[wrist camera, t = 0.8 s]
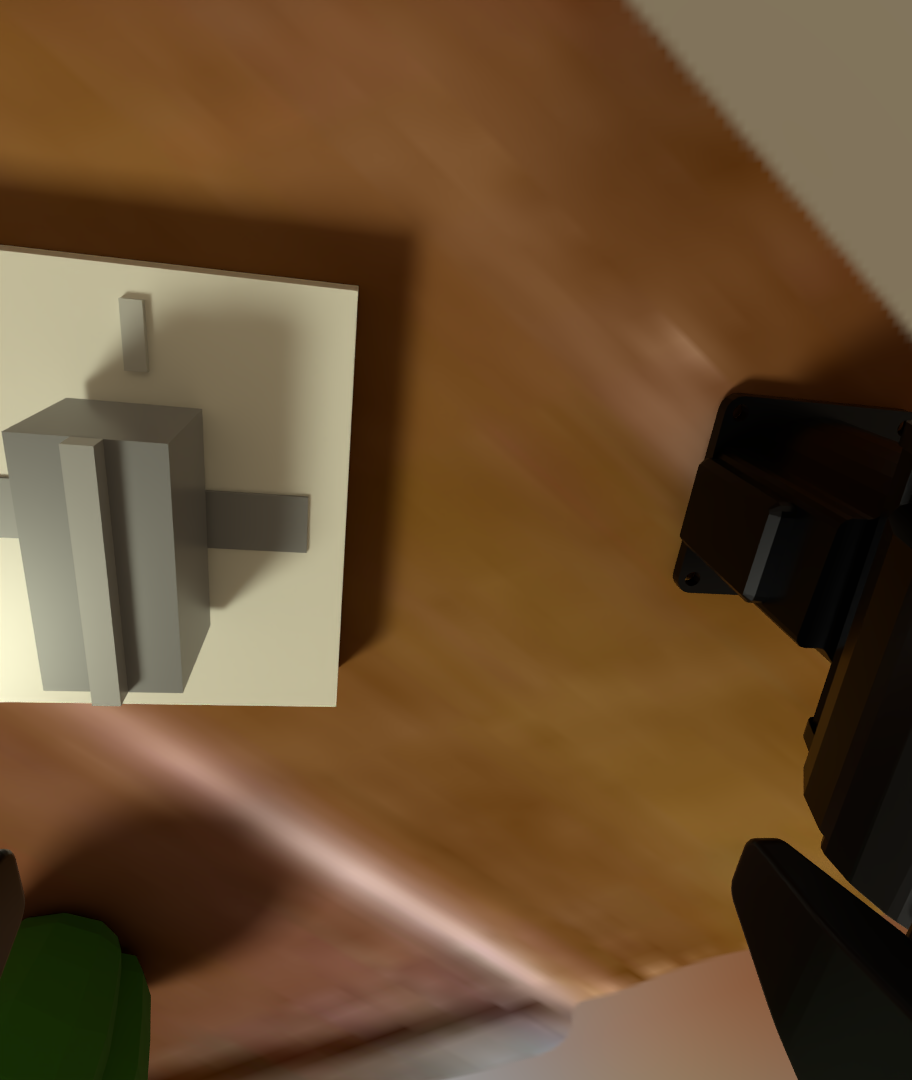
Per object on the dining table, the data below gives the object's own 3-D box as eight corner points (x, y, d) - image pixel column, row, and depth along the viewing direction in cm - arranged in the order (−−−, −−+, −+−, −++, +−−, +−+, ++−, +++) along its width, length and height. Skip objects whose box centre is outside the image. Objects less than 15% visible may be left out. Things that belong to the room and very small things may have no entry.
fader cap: (202, 408, 16) (161, 451, 13) (210, 625, 18) (177, 707, 15) (66, 397, 15) (-13, 438, 12) (92, 621, 18) (33, 704, 14)
